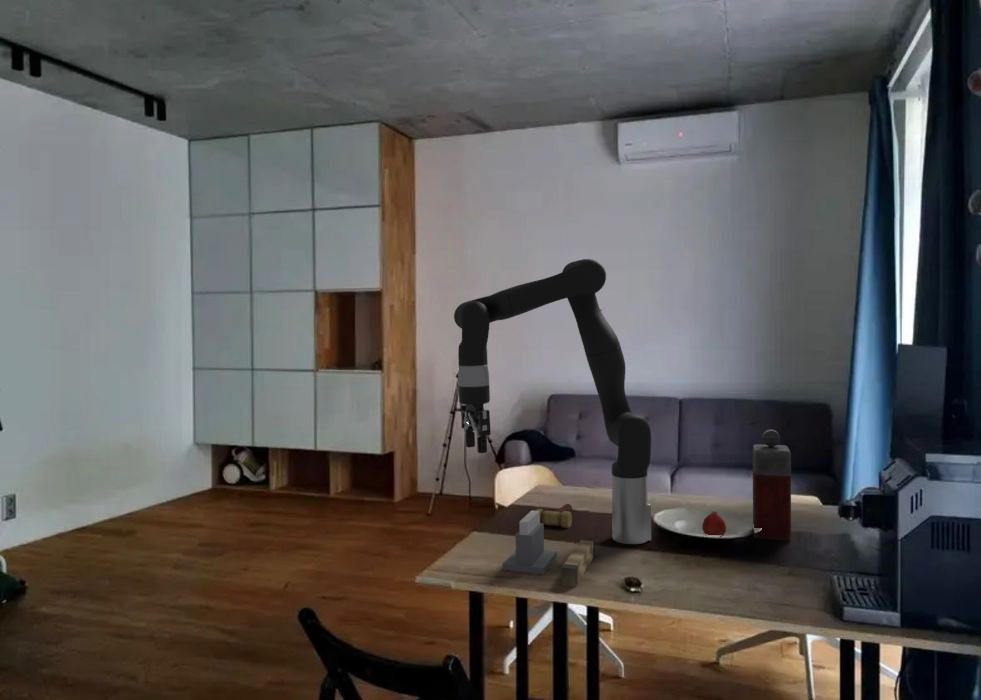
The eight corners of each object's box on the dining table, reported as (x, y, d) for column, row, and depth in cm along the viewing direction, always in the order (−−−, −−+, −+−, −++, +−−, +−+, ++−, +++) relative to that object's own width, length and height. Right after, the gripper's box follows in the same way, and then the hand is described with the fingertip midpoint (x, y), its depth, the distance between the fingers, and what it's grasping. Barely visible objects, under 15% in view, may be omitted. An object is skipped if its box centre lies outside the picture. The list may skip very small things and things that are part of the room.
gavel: (555, 497, 214) (586, 499, 211) (555, 511, 214) (586, 514, 210) (533, 510, 195) (567, 513, 191) (533, 526, 195) (567, 530, 191)
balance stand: (557, 557, 169) (556, 511, 168) (543, 574, 157) (543, 525, 157) (518, 553, 172) (517, 508, 171) (502, 570, 161) (501, 521, 160)
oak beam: (583, 553, 171) (582, 537, 171) (595, 554, 170) (595, 538, 170) (561, 585, 151) (561, 567, 150) (575, 587, 150) (575, 568, 149)
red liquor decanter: (787, 528, 188) (787, 426, 187) (791, 540, 177) (791, 433, 176) (752, 525, 191) (752, 425, 190) (754, 537, 180) (753, 432, 179)
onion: (701, 543, 177) (701, 512, 177) (703, 536, 182) (703, 506, 182) (725, 545, 175) (725, 514, 175) (726, 538, 180) (726, 508, 180)
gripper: (499, 385, 161) (501, 453, 162) (478, 380, 175) (480, 443, 175) (469, 387, 159) (471, 456, 159) (450, 382, 172) (452, 446, 173)
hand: (476, 449), depth 167 cm, fingers open, 8 cm apart
